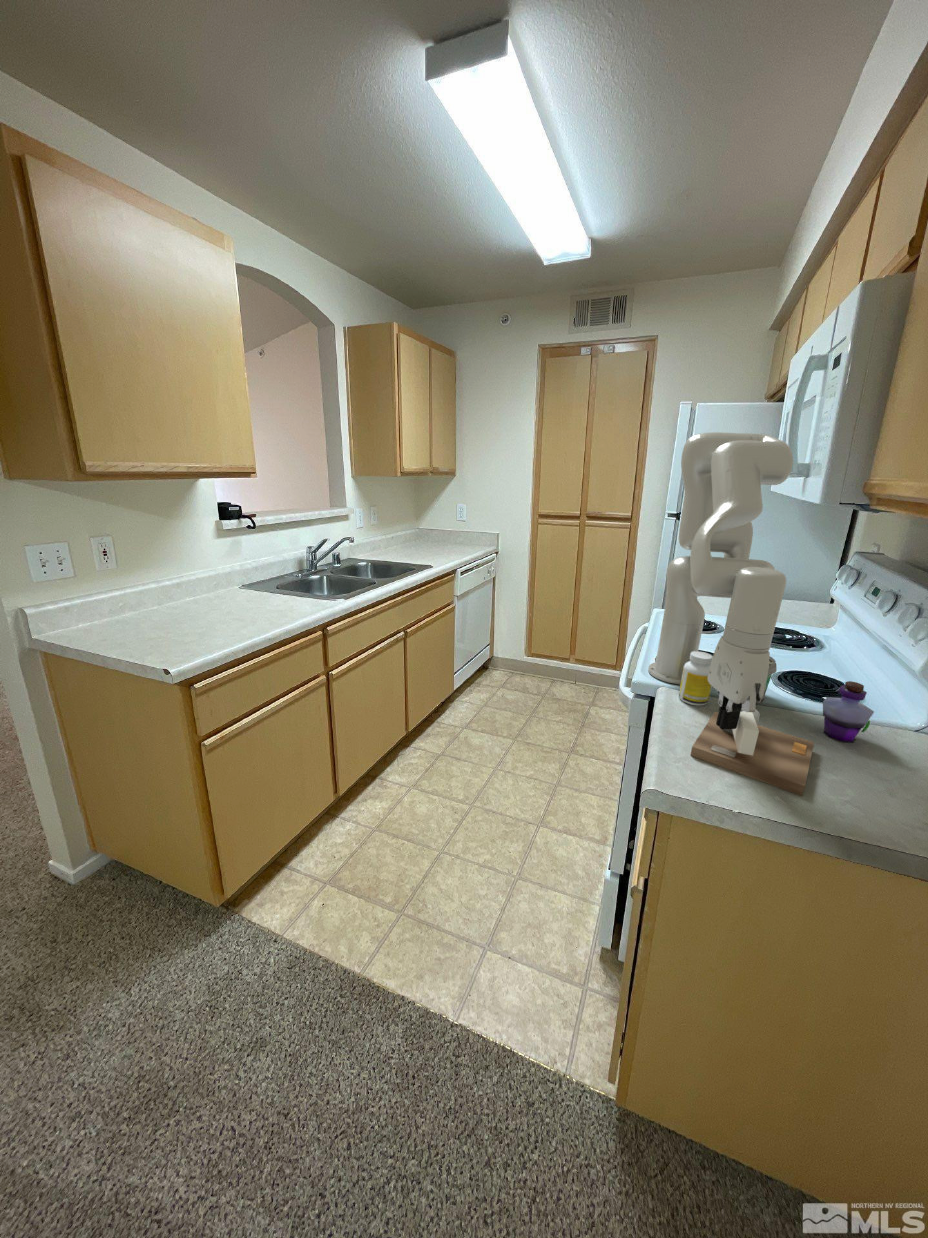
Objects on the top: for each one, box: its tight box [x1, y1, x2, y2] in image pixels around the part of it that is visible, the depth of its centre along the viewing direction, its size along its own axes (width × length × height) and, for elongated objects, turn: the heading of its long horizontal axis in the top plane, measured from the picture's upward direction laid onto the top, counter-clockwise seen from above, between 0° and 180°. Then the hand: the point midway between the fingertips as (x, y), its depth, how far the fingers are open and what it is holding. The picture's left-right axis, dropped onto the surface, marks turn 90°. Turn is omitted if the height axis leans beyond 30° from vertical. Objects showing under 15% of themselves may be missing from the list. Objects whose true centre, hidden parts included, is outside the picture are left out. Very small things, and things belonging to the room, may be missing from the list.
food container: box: [760, 656, 778, 703], centre depth 116 cm, size 12×6×10 cm, turn 150°
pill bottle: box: [678, 650, 713, 707], centre depth 114 cm, size 6×6×12 cm
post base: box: [690, 711, 815, 797], centre depth 94 cm, size 18×18×3 cm
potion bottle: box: [822, 680, 875, 744], centre depth 100 cm, size 9×9×12 cm
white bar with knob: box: [719, 705, 761, 756], centre depth 94 cm, size 16×7×5 cm, turn 158°
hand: (725, 726), depth 93 cm, fingers closed
